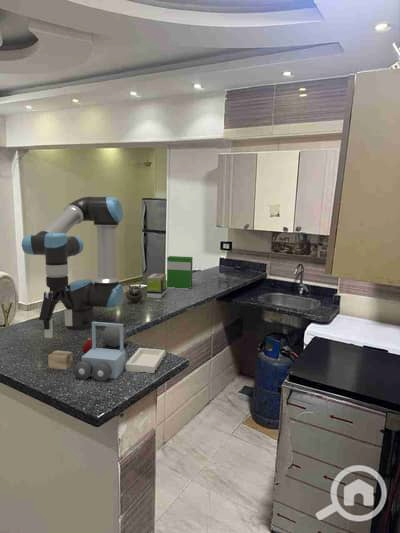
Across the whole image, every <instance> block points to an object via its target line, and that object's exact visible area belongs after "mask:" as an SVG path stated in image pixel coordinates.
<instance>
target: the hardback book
mask: <svg viewBox="0 0 400 533" xmlns="http://www.w3.org/2000/svg"><path fill="white" fill-rule="evenodd" d="M193 258H194V257H193V256H180V255H179V256H177V255H176V256H175V255H169V256H167V258H166V261H167V262H166V263H167V264H166V266H167V267H166V268H167V270H166V288H167V287H175V288H188V289H190V290H191V288H190V287H192V288H193Z"/></svg>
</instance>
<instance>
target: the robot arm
mask: <svg viewBox="0 0 400 533" xmlns="http://www.w3.org/2000/svg"><path fill="white" fill-rule="evenodd" d="M123 216H124V211H123V207H122V204H121V202H120V200H119V199H118V198H117V197H113V196H112V197H111V196H110V197H109V196H84V197H80V198H78V199H75V200H73V201H72V202H70V203H68V205H66V206H65V207H64V208H63V212H62V213H60V214H59V215H58V216H56V217H55V218H54V219H53V220H52V221H51V222H49V223H48V224H47V225H45V227H43V228H42V229H40V230H39V231H38V233H36V234H35V235H34V234H30V235H24V236H23V238H22V240H21V248H22V251H23V252H24V253H25V254H27V255H33V256H44V257H45V258H44V260H45V275H46V277H45V281H46V284H45V285H46V287H47V288H49V291H44V293H43V300H42V304H41V309H40V313H39V317H38V320H40V321H43V330H44V333H43V334H44V338H45V339H47V338H48V339H52V338H53V337H54V336H53V335H54V334H53V319H52V317H53V314H54V311H55V308H56V305H57V304H58V303H59V302H60V301H61V303H62V305H63V306H64V307H65V309H64V326H65V328H66V329H68V330H73V331H81V330H84V331H85V330H90V329H92V322H98V319H97V317H96V314H95V312H94V307H98V308H108V309H110V308H117V307H119V305H120V304H121V301H122V299H123V295H124V294H123V293H124V288H123V285H122V284H120V281H119V278H117V276H116V229H117V228H118V227H119V223H120V222H122V221H123ZM82 222H93V226H94V227H95V228H96V236H97V237H96V240H97V241H96V242H97V244H96V246H97V247H96V248H97V257H96V258H97V277H96V279H94V282H93V280H92V279H89V278H88V279H79V280H74V281H71V282H69V276H68V275H69V266H68V258H70V257H75V256H77V255H79V254H81V253H82V252H83V249H84V242H83V240H82V239H81V238H80V237H78V236H76V235H75V236H74V235H70V236H67V233H68V232H70V230H72V228H74V227H75V225H78V224H81V223H82ZM95 326H97V325H95Z"/></svg>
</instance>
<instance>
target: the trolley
mask: <svg viewBox="0 0 400 533" xmlns="http://www.w3.org/2000/svg"><path fill="white" fill-rule="evenodd" d="M95 325H96V326H98V327H99V326H100V327H107V326H109V327H120V345H119V349H111V348H99V347H98V348H96V344H97V341H96V340H97V339H96V338H97V337H96V336H97V335H96V333H97V332H96V331H97V330H96V326H95ZM123 328H124V323H115V322H99V321H97V322H92V328H91V340H92V349H91V350H89V351H88V352H87V353H86V354H83V355H82V356H81V361H79V362H78V363H77V364H76V365H75V366H74V367H73V373H74V375H75V377H76V378H77V379H80V380H87V379H88V378H89V377H93V378H94V379H95V380H96V381H98V382H105V381H107V380H108V379H112V378H114V380H117V379H116V378H119V376H120V375H121V374H122V373H123V372H124V370H126V366H125V364H126V350H125V349H124V342H123Z"/></svg>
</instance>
